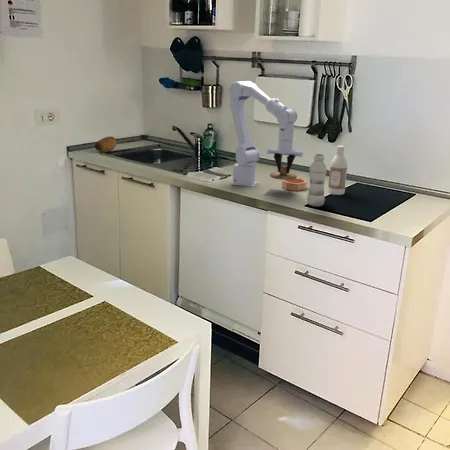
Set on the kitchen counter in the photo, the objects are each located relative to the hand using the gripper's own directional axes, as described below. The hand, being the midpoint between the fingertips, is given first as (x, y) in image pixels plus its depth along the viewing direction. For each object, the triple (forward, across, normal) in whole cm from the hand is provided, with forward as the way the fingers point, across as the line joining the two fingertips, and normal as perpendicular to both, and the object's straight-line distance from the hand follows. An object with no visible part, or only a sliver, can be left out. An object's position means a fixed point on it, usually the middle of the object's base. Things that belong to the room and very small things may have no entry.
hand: (283, 172), depth 218 cm
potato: (+9, -110, +40) cm, 118 cm away
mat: (+9, -1, -3) cm, 9 cm away
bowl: (+9, +3, +9) cm, 13 cm away
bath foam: (+9, +21, +10) cm, 25 cm away
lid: (+2, 0, 0) cm, 2 cm away
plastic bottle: (+9, +16, -13) cm, 23 cm away
